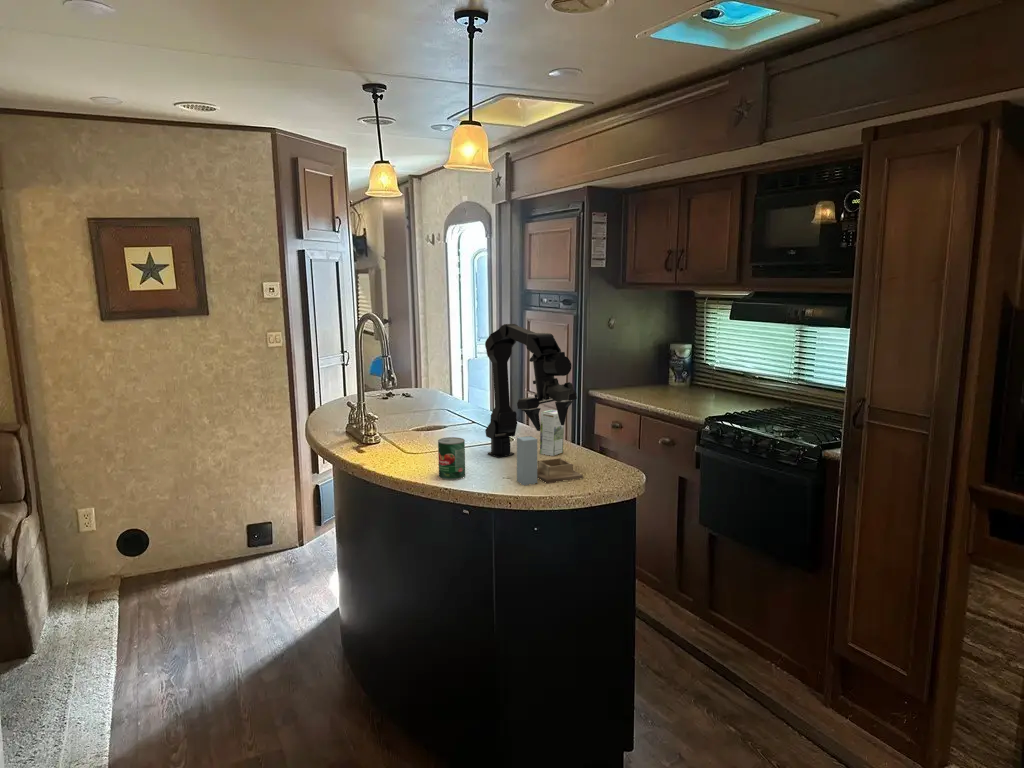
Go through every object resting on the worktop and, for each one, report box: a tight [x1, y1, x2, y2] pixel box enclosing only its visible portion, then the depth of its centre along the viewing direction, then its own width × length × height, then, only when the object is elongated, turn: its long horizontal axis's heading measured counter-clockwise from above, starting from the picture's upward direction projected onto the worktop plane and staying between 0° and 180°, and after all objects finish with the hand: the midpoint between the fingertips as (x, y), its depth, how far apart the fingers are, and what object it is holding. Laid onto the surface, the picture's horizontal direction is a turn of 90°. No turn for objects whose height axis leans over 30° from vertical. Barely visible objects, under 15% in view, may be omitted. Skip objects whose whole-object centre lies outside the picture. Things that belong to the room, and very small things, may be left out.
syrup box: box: [539, 409, 565, 457], centre depth 228 cm, size 6×6×14 cm
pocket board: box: [537, 457, 584, 484], centre depth 203 cm, size 12×12×4 cm
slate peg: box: [516, 435, 538, 486], centre depth 195 cm, size 4×4×13 cm
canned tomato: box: [437, 436, 466, 481], centre depth 202 cm, size 8×8×11 cm
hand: (550, 428), depth 204 cm, fingers open, 9 cm apart
